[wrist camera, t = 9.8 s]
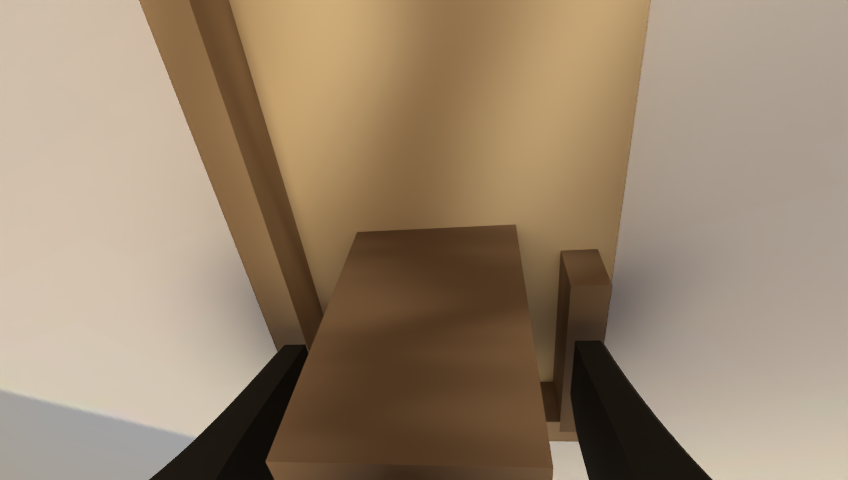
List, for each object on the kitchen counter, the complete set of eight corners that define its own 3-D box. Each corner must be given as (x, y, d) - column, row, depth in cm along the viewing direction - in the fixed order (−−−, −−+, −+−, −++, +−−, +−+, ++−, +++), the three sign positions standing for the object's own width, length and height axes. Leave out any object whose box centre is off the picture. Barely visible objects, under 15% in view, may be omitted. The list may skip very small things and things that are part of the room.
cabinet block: (515, 224, 13) (561, 525, 6) (515, 352, 15) (548, 657, 9) (357, 232, 13) (244, 513, 7) (384, 354, 16) (322, 640, 9)
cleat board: (691, -388, 7) (767, -503, 5) (591, 386, 17) (606, 441, 15) (112, -265, 8) (11, -324, 7) (327, 387, 18) (311, 437, 16)
